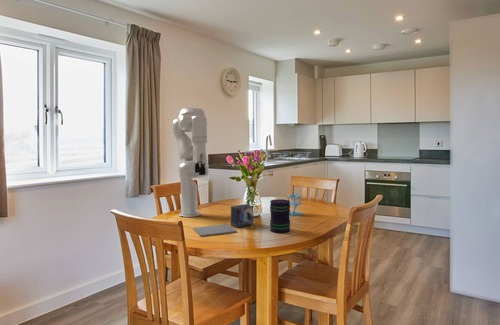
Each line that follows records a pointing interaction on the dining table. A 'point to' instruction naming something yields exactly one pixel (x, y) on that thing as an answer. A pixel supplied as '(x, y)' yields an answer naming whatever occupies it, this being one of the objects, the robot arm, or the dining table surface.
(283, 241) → the dining table surface
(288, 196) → the chair
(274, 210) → the storage jar
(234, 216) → the small box
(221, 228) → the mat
